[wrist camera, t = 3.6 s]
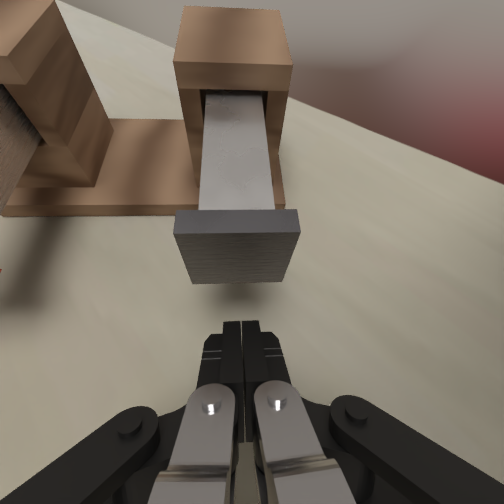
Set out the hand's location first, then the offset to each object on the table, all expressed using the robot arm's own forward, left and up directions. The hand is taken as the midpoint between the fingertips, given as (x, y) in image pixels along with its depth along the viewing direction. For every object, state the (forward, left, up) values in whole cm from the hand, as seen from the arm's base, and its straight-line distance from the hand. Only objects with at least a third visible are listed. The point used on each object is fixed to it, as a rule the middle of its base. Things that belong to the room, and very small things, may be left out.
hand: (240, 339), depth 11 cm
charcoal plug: (0, -11, -2) cm, 12 cm away
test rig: (+8, -19, -8) cm, 22 cm away
